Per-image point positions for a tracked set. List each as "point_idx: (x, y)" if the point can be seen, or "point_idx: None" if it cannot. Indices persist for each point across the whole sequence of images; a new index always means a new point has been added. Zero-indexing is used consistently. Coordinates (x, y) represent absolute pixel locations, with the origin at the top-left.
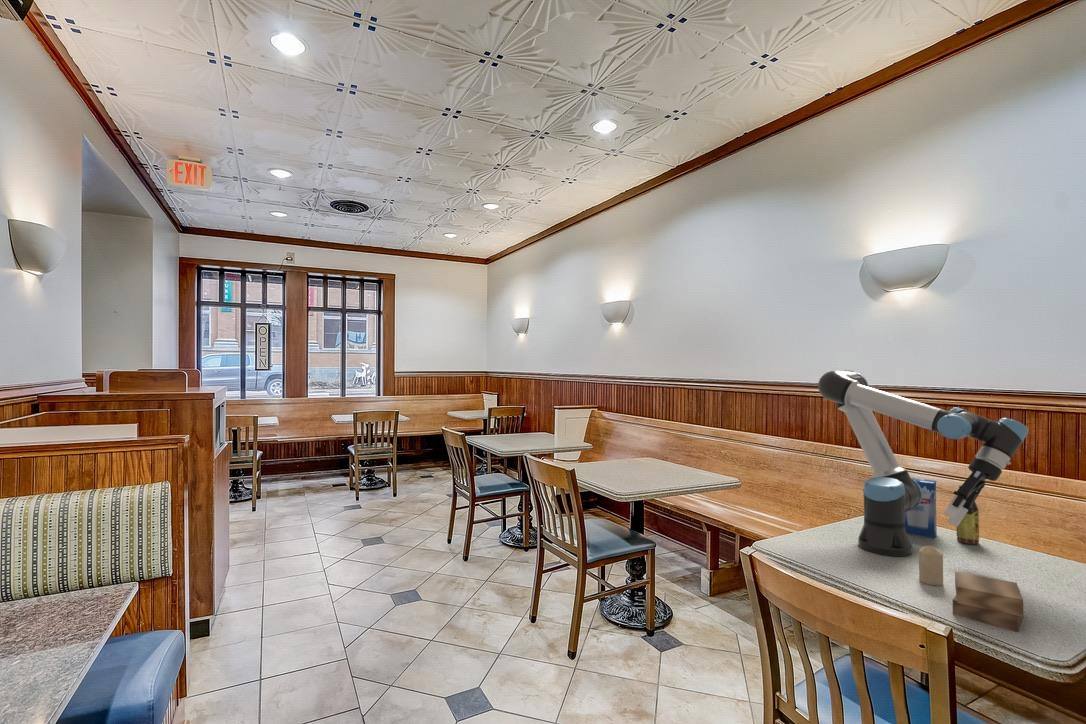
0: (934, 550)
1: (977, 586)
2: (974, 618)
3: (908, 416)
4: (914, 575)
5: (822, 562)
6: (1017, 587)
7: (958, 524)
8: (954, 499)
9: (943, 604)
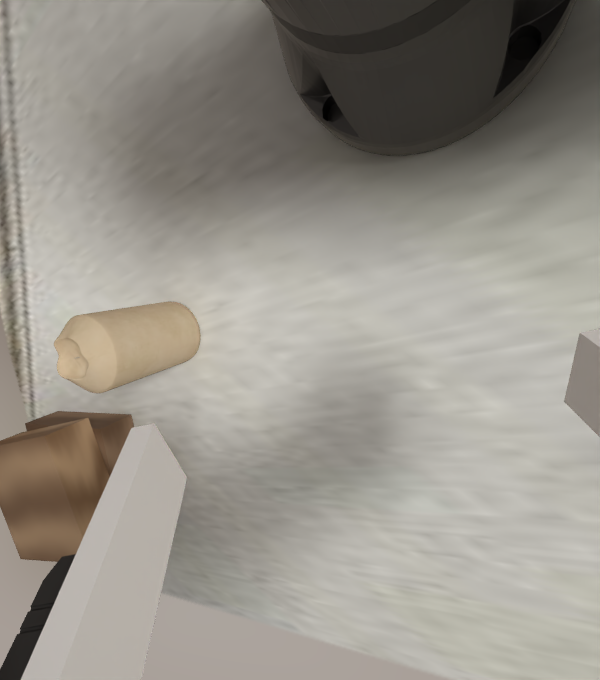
0: (63, 375)
1: (8, 485)
2: None
3: None
4: (186, 279)
5: (56, 31)
6: None
7: (592, 418)
8: (55, 636)
9: (80, 389)
